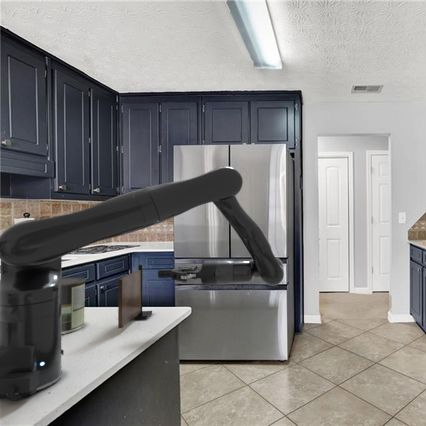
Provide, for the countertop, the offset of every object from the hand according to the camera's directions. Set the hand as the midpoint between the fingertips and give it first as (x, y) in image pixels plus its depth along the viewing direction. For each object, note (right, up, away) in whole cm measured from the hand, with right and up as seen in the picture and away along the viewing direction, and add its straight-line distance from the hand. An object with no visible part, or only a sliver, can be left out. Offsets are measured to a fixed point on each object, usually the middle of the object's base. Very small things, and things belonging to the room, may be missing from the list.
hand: (158, 273), depth 90 cm
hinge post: (-11, -16, +7) cm, 21 cm away
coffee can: (-27, -16, -2) cm, 32 cm away
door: (-10, -15, +2) cm, 18 cm away
